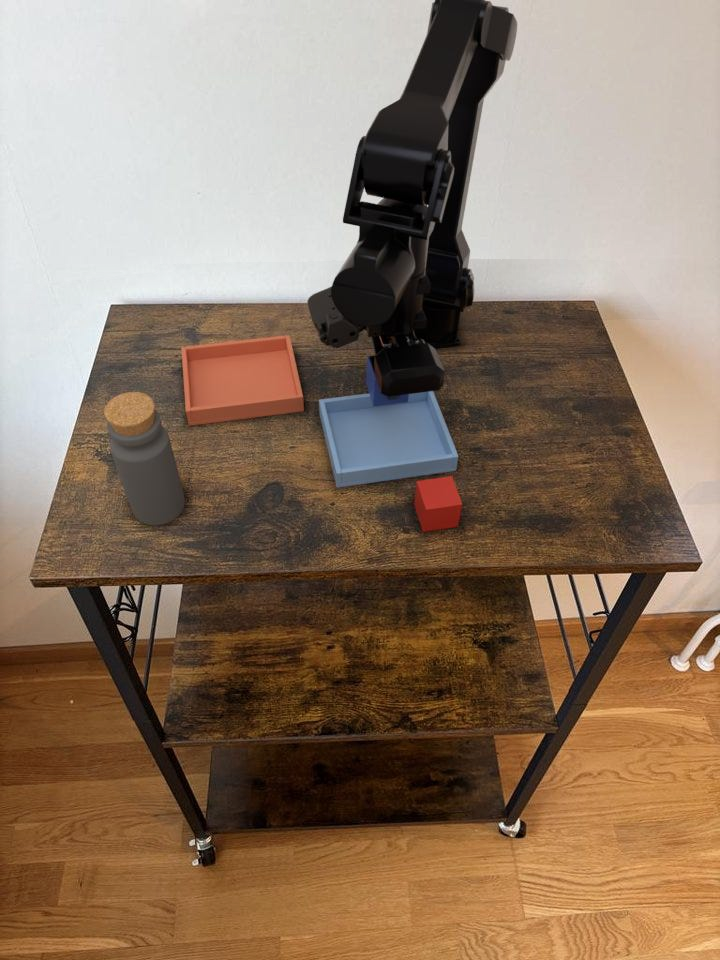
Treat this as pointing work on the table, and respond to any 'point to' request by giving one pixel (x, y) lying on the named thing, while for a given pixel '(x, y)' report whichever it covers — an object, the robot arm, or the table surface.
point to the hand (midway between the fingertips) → (388, 385)
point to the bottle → (144, 459)
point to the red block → (437, 503)
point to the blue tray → (385, 439)
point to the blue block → (374, 389)
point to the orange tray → (240, 380)
